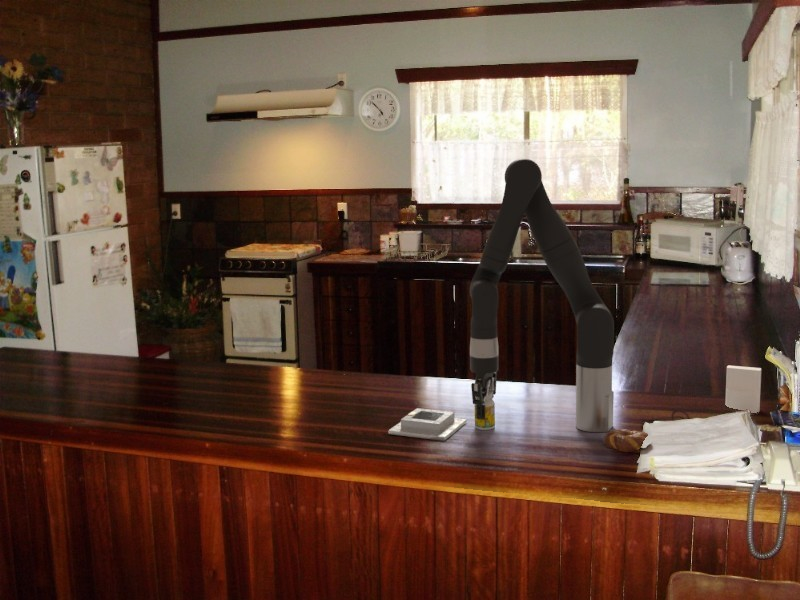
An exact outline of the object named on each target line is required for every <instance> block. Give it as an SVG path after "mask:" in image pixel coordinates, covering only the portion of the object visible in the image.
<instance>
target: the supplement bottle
mask: <svg viewBox="0 0 800 600" xmlns="http://www.w3.org/2000/svg"><path fill="white" fill-rule="evenodd" d="M482 393H485V392H482ZM491 398H492V393H491V392H489V391H488V396H487V397H486V401H485V418H484V419H479V418H477V416H476V404H474V427H475V429H477V430H479V431H490V430H493V429H494V428H495V427H496V419H495V417H496V414H495V412H496V410H495V409H496V408H495V407H496V405H495V403H496V402H495V401H494V400H493V398H492V399H491Z"/></svg>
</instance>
